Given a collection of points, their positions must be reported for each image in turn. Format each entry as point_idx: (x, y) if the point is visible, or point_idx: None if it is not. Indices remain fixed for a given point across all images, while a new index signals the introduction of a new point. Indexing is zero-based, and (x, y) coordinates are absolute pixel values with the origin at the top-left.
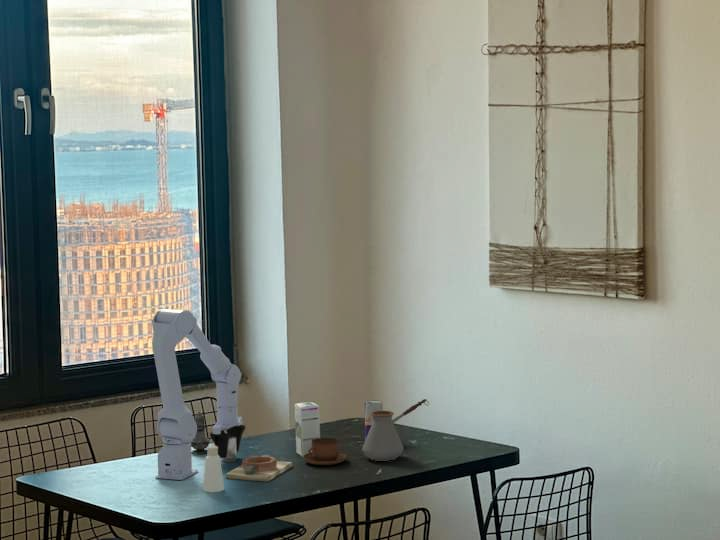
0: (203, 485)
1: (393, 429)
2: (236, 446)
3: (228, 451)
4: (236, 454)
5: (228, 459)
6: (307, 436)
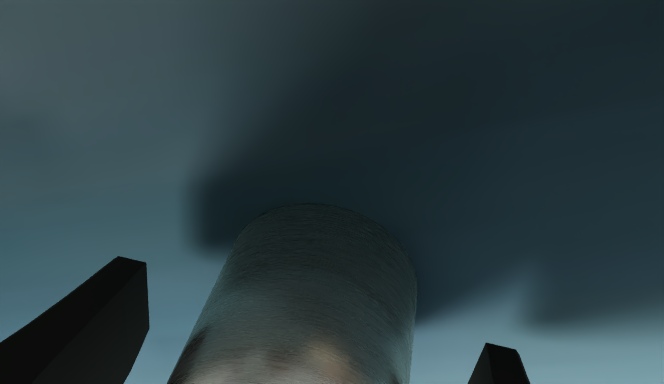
0: None
1: None
2: (109, 322)
3: (404, 379)
4: (279, 251)
5: (412, 295)
6: None
